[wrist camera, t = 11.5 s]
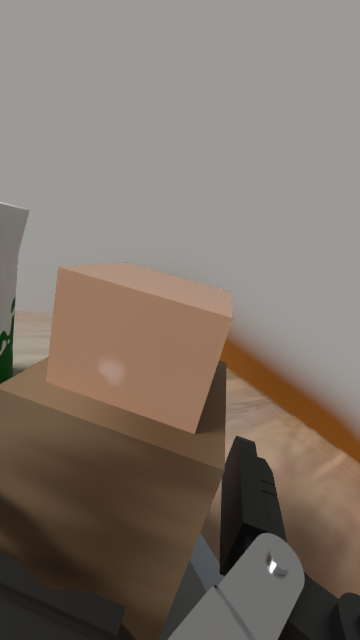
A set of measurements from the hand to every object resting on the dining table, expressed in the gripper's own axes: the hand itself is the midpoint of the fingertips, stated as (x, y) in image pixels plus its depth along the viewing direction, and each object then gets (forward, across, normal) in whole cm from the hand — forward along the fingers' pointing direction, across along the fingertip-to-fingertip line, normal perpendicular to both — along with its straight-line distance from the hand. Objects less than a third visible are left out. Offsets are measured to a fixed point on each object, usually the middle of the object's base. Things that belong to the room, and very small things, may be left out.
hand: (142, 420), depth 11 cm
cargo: (-2, 0, -4) cm, 4 cm away
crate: (-2, 0, +8) cm, 8 cm away
